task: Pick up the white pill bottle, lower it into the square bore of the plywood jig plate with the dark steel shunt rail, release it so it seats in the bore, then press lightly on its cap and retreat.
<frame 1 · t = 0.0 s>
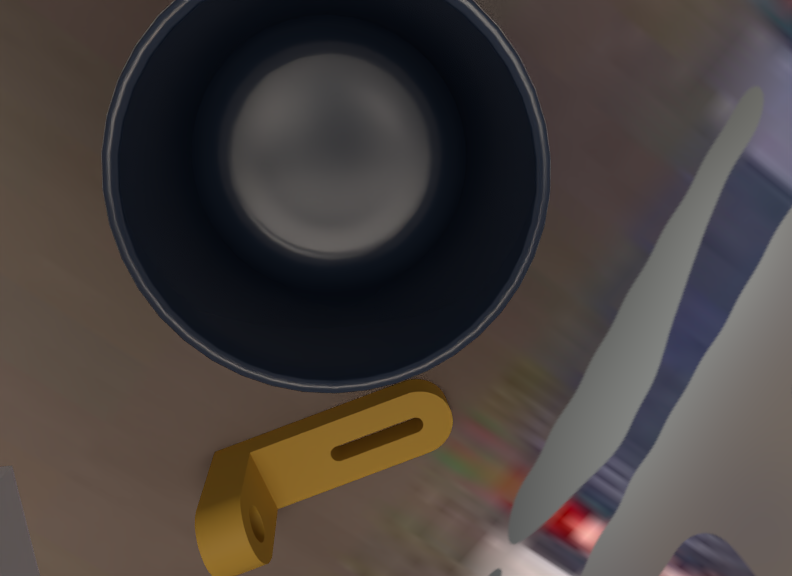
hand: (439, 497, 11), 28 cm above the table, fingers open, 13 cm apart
planter: (331, 154, 36), on the table
bracket: (337, 436, 42), on the table
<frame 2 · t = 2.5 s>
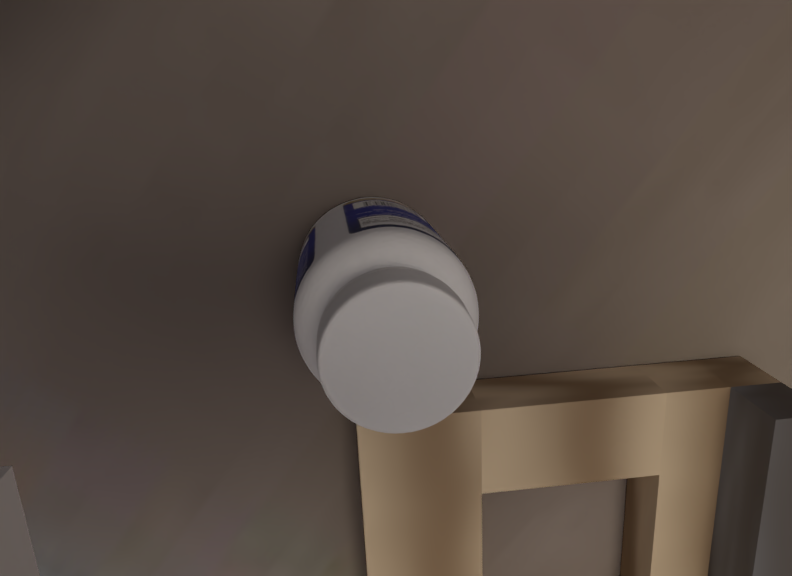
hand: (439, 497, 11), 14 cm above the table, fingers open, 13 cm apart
jig: (547, 519, 28), on the table
pill bottle: (371, 264, 24), on the table
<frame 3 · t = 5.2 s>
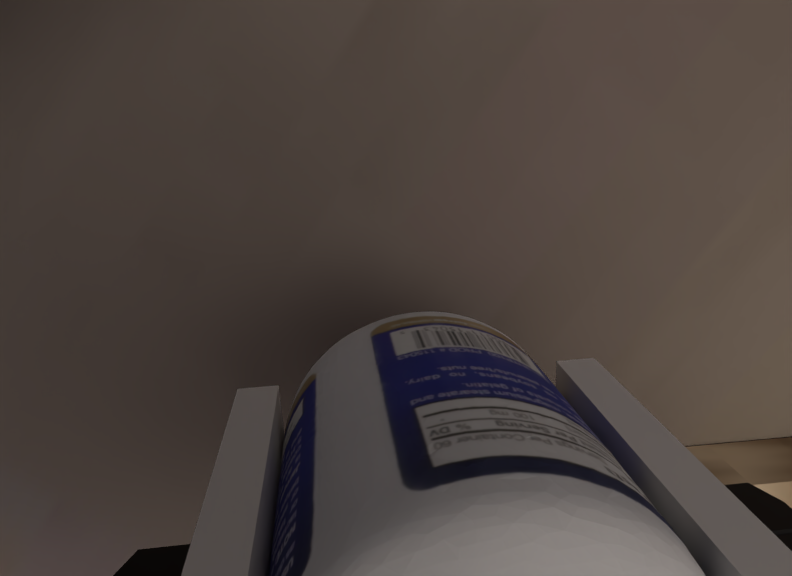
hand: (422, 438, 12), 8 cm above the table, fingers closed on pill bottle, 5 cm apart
pill bottle: (419, 424, 13), point 7 cm above the table, touching gripper
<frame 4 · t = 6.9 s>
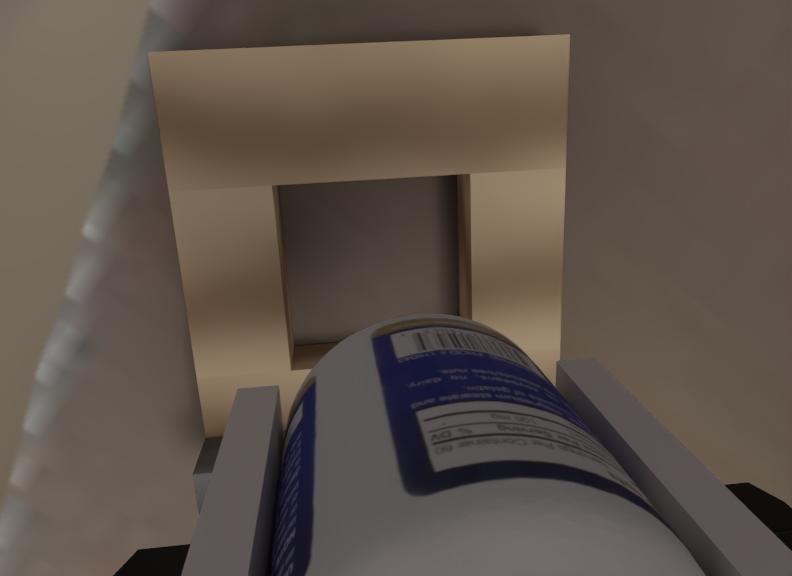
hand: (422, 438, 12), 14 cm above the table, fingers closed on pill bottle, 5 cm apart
jig: (373, 258, 26), on the table
pill bottle: (420, 427, 13), point 14 cm above the table, touching gripper
when the fingers open (3 cm above the table, at t = 9.1 s): pill bottle drops 3 cm, resting in jig.
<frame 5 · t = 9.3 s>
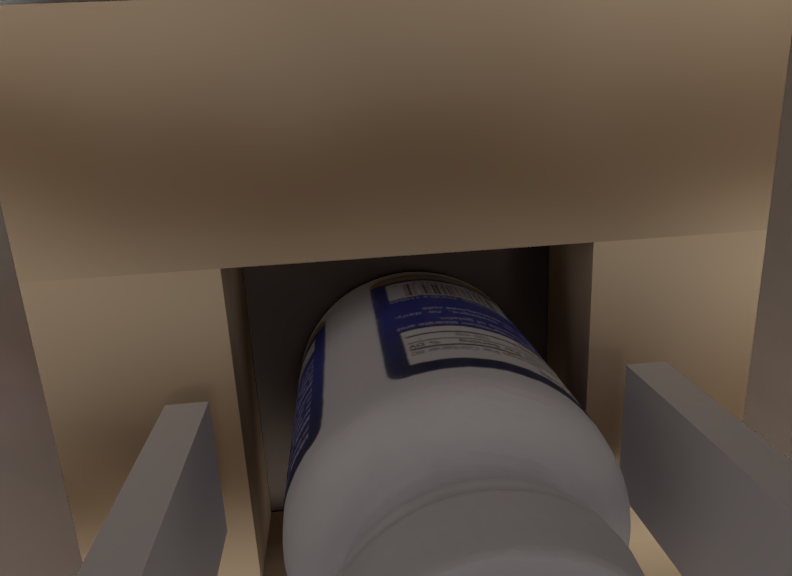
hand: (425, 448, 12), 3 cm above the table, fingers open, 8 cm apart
jig: (404, 372, 15), on the table
pill bottle: (412, 369, 15), resting in jig
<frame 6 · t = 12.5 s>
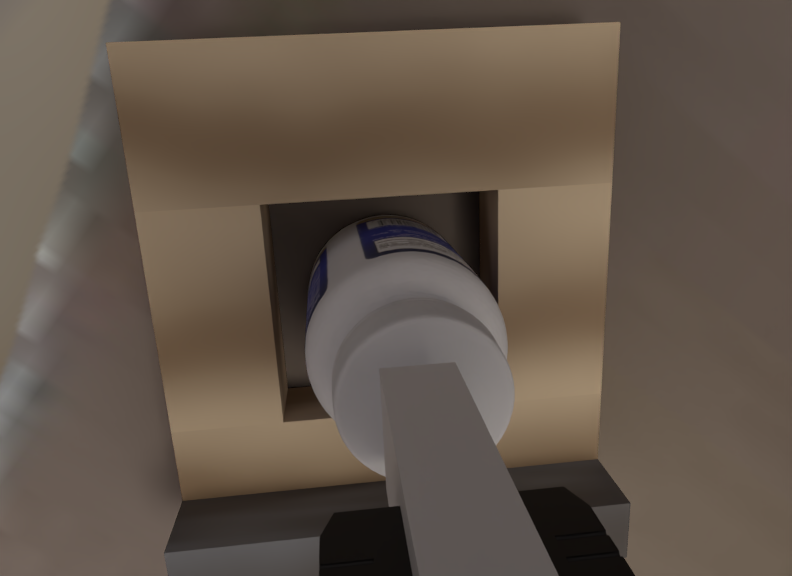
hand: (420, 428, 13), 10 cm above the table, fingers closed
jig: (380, 287, 22), on the table
pill bottle: (385, 285, 22), resting in jig
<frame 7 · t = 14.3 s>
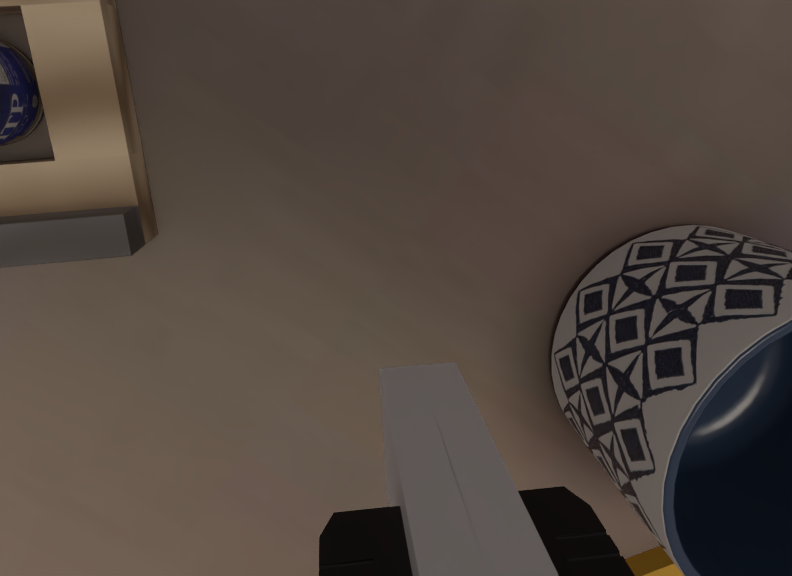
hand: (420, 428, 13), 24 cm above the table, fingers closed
planter: (667, 344, 41), on the table
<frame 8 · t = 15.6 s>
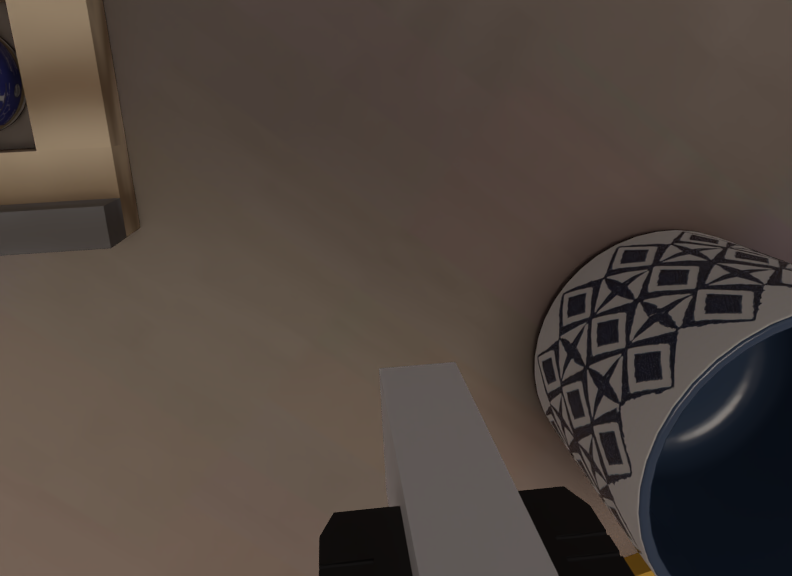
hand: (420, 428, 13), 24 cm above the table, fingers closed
planter: (651, 349, 41), on the table
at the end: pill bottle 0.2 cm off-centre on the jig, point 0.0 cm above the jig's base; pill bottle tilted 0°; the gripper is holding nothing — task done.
